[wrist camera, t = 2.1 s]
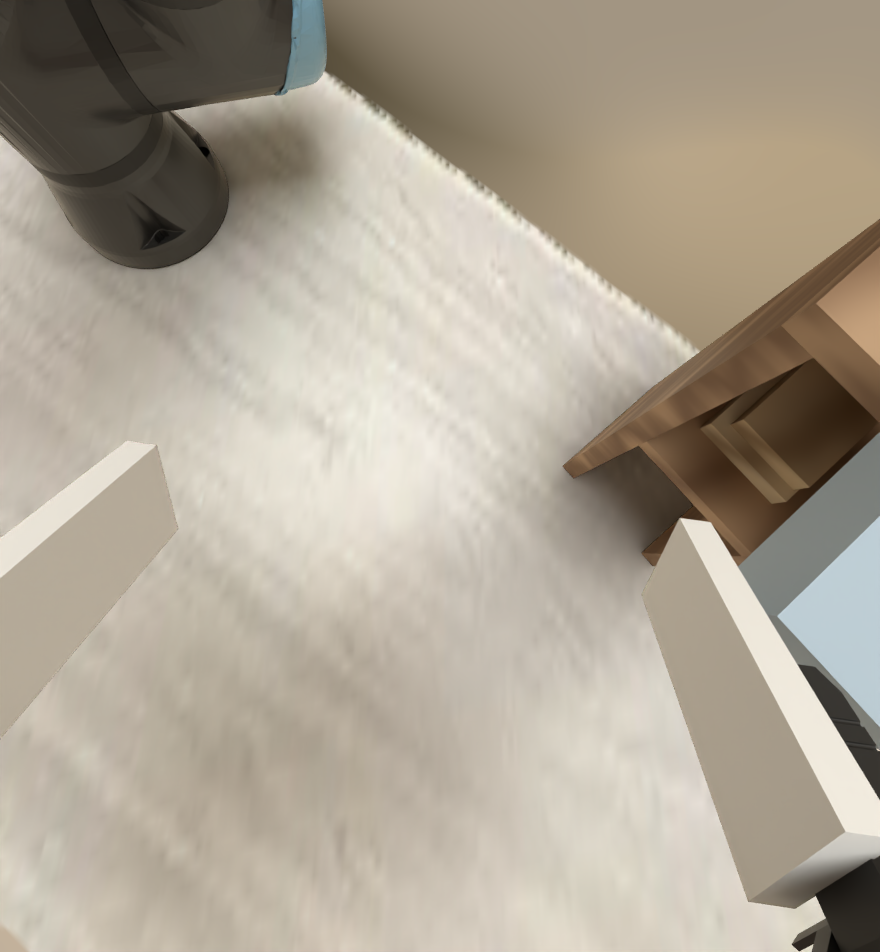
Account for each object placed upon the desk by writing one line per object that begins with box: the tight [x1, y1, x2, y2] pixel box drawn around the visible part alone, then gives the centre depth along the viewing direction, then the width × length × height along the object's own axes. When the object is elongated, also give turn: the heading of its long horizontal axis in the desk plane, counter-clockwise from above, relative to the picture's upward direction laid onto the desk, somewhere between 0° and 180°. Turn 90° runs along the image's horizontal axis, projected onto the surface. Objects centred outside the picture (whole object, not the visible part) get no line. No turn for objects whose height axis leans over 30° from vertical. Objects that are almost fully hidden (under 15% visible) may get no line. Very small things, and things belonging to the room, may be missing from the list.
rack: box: [563, 219, 880, 566], centre depth 28 cm, size 12×12×32 cm
